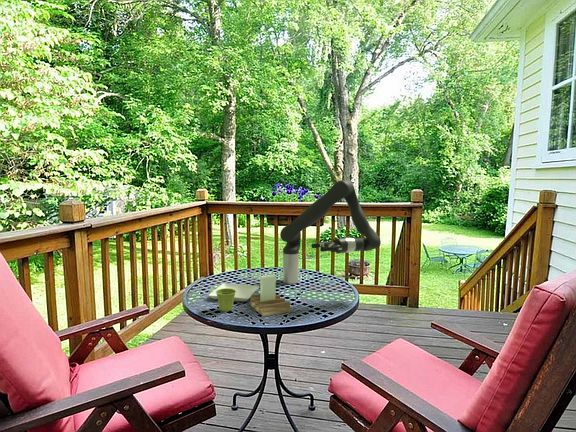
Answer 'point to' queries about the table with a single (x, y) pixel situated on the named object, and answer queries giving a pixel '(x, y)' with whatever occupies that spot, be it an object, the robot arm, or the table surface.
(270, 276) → the pale green block
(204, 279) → the table surface
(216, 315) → the table surface
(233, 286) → the salad plate
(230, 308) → the plant pot
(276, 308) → the drying rack
